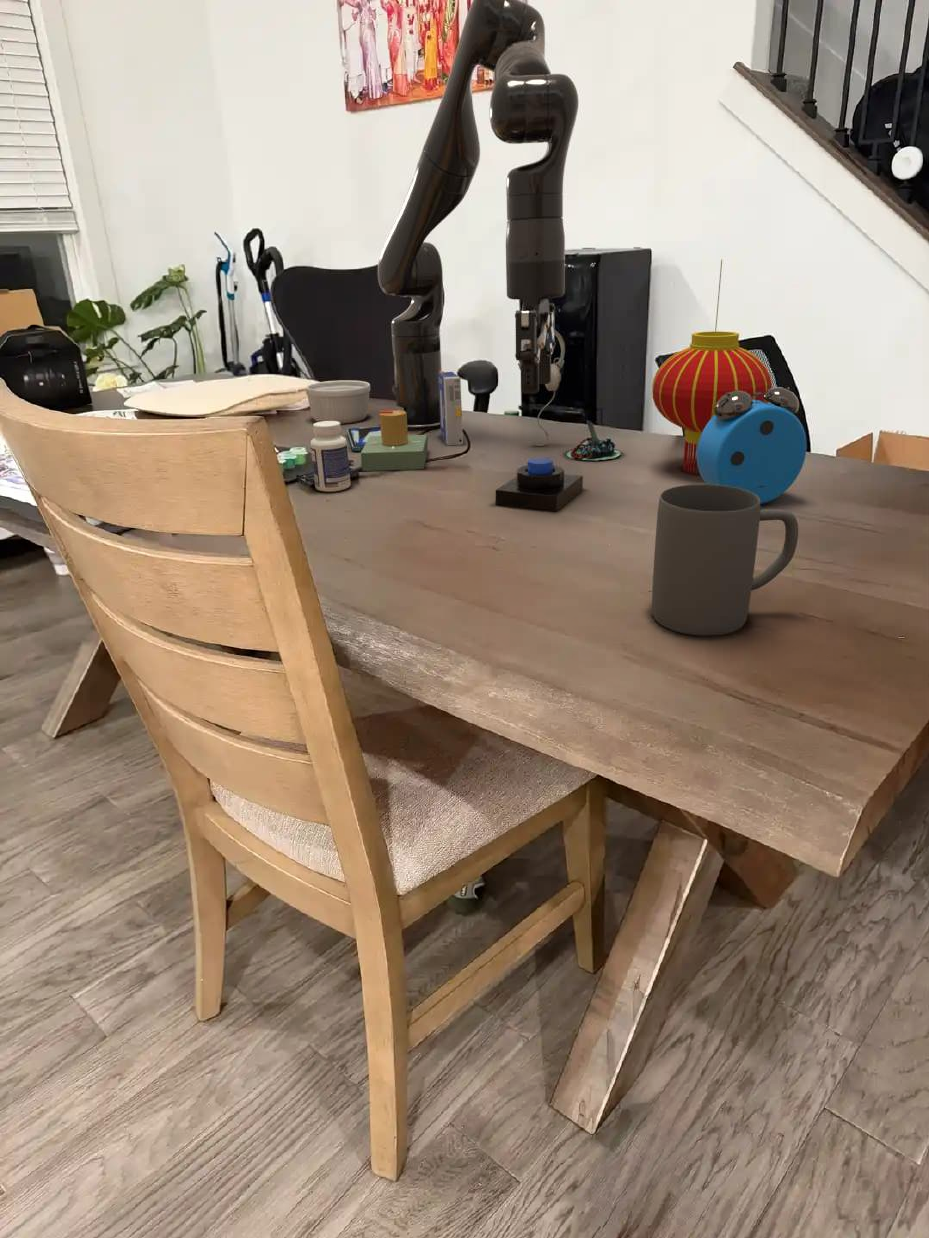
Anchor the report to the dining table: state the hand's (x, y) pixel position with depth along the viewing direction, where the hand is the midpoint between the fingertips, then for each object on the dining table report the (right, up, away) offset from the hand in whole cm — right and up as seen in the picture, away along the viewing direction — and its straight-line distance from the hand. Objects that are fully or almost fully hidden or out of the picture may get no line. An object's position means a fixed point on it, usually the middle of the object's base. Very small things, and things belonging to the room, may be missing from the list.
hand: (536, 388), depth 114 cm
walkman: (-12, +1, +41) cm, 42 cm away
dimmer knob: (-21, -2, +27) cm, 34 cm away
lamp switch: (+1, -14, +6) cm, 15 cm away
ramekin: (-36, +10, +62) cm, 72 cm away
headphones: (+4, -1, +34) cm, 35 cm away
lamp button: (+1, -11, +4) cm, 12 cm away
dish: (+12, -4, +27) cm, 30 cm away
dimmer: (-21, -5, +28) cm, 35 cm away
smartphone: (-27, +2, +42) cm, 50 cm away
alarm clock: (+29, -15, +1) cm, 33 cm away
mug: (+15, -31, -32) cm, 47 cm away
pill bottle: (-30, -11, +14) cm, 35 cm away
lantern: (+27, -8, +17) cm, 33 cm away
